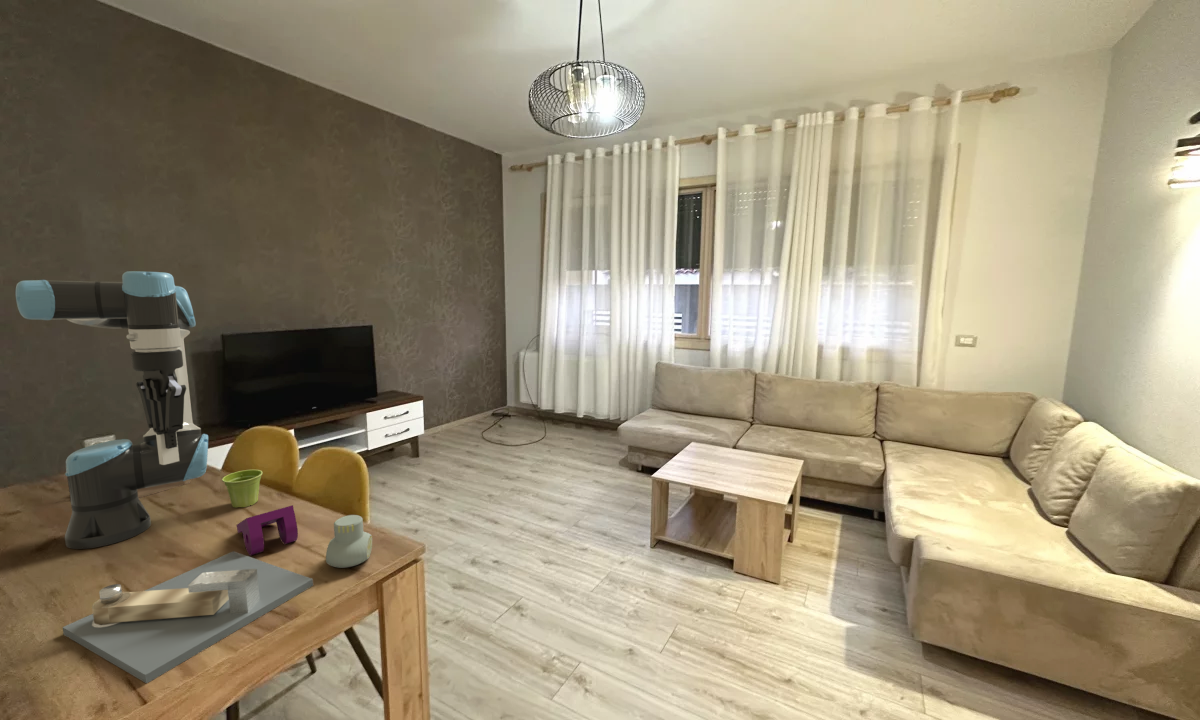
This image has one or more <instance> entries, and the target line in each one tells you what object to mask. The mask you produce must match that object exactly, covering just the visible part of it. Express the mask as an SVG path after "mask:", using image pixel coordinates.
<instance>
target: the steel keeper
mask: <svg viewBox="0 0 1200 720" xmlns="http://www.w3.org/2000/svg"><path fill="white" fill-rule="evenodd" d="M188 590H189V593H191V592H204V591H217V590H228V594H229V604H230V614H239V613H248V612H249V611H250V610H251V609H252V608H253V606H254V605H255V604H256V603H257V602H258V601H259V600H260V598H259V587H258V576H257V569H246V570H232V571H219V572H205V573H201V574H200V575H199V576H198V577H197V578H196V579H195V580H193V581H192V582H191V583H190V584H189V585H188Z"/></svg>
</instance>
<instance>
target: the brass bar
mask: <svg viewBox="0 0 1200 720" xmlns="http://www.w3.org/2000/svg"><path fill="white" fill-rule="evenodd" d="M228 600H229V598H228V590H217V591H204V592H191V593H189V590H188V588H181V589H167V590H153V591H145V590H140V591H122V597H121V598H120V599H118V600H116V601H113V602H110V603H105V604H103V603H101V602H100V598H99V599H97V600H96V601H94V603H92V606H91V609H92V610H91V611H92V614H93V617H94V623H95V624H107V623H114V622H127V621H140V620H152V619H165V618H178V617H190V616H203V615H214V614H215V613H216V612H217V611H218V610H219V609H220V608H221V607H222V606H223V605H224V604H225V603H226V602H227V601H228Z"/></svg>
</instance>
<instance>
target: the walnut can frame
mask: <svg viewBox="0 0 1200 720" xmlns="http://www.w3.org/2000/svg"><path fill="white" fill-rule="evenodd" d="M190 483H191V479H189V480H186V481H180V482H174V483H169V484H164V485H158V486H153V487H147V488H142V489H137V492H138V498H139V499H141V498H144V497H146V496H151V495H154V494H156V493H161V492H163V491H168V490H170V489H173V488H177V487H180V486H185V485H187V484H190Z"/></svg>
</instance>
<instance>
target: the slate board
mask: <svg viewBox="0 0 1200 720" xmlns="http://www.w3.org/2000/svg"><path fill="white" fill-rule="evenodd" d="M246 569H257V576H258V587H259V598H260V600H259V601H258V602H257V603H256V604H255V605H254V606H253V608H252V609H251V610H250V611H249V612H248V613H239V614H230V604H229V600H228V601H227V602H226V603H225V604H224V605H223V606H222V607H221V608H220V609H219V610H218V611H217V612H216V613H215V614H214V615H203V616H190V617H178V618H165V619H152V620H140V621H127V622H121V623H118V624H116V625H113V626H109V627H105V628H94V627H93V626H92V622H93V621H94V617H93V613H91V614H90V615H87V616H85V617H82V618H80V619H78V620H76V621H74V622H71V623H69V624H66V625H65V626H62V632H63V636H65V637H66V638H68V637H69V638H68V639H70V640H71V641H73V642H75V643H77V644H79V645H80V646H82V647H83V648H85V649H86V650H89V651H91V652H92V653H94V654H95V655H98V656H99V657H101V658H102V659H104V660H106V661H107V662H109V663H111V664H113V665H114V666H116V667H118V669H119V668H120V669H122V671H124V672H126V673H128V674H130V675H131V676H133V677H134V678H136V679H138V680H140V681H141V682H143V683H145V684H149V682H151V681H154V680H155V679H157V678H159V677H161V676H162V675H163V674H166V673H167V672H168V671H170V670H172V669H174V668H176V667H177V666H179V665H181V664H182V663H184V662H186V661H188V660H189V659H190V658H193V657H194V656H196V655H198V654H199V653H201V652H202V651H204V650H206V649H208V648H210V647H211V646H213V645H214V644H216V643H218V642H220V641H222V640H223V639H225V638H227V637H228V636H230V635H232V634H233V633H235V632H236V631H238V630H240V629H242V628H243V627H245V626H247V625H249V624H251V623H252V622H253V621H255V620H258V619H259V618H260V617H262V616H265V615H266V614H267V613H269V612H270V611H273V610H274V609H276V608H277V607H279V606H281V605H282V604H284V603H286V602H287V601H289V600H291V599H293V598H295V597H297V596H298V595H299V594H301V593H303V592H305V591H306V590H308V589H310V588H311V587H314V580H313V578H312V577H309V576H306V575H303V574H300V573H297V572H294V571H292V570H288V569H285V568H283V567H279V566H277V565H274V564H272V563H269V562H266V561H262V560H260V559H257V558H254V557H252V556H250V555H246V554H243V553H239V552H237V551H234V550H233V551H231V552H228V553H226V554H224V555H221V556H219V557H217V558H215V559H213V560H211V561H208V562H206V563H204V564H202V565H199V566H197V567H194V568H192V569H191V570H188V571H186V572H183V573H182V574H179V575H177V576H174V577H173V578H170V579H167V580H166V581H163V582H161V583H158V584H156V585H154V586H152V587H150V588H148V589H144V591H153V590H167V589H181V588H188V585H189V584H190V583H191V582H192V581H193V580H195V579H196V578H197V577H198V576H199V575H200V574H201V573H205V572H219V571H232V570H246ZM228 598H229V594H228Z"/></svg>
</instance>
